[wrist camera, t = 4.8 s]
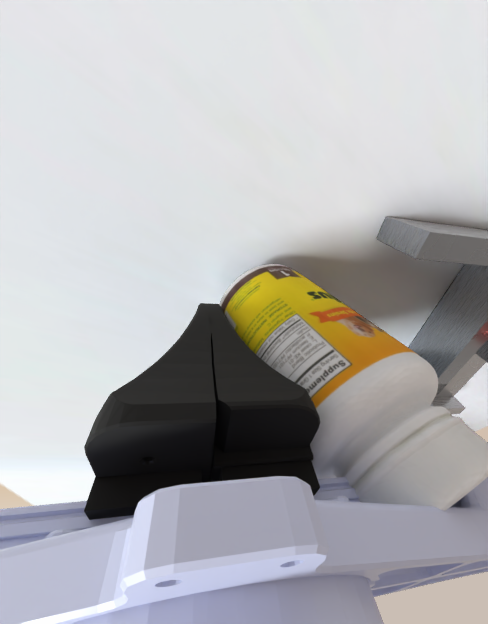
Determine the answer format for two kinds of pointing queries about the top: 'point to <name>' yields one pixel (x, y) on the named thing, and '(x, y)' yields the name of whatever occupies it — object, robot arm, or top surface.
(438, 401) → the lever rail
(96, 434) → the robot arm
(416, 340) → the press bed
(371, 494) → the supplement bottle
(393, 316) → the top surface
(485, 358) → the lever
